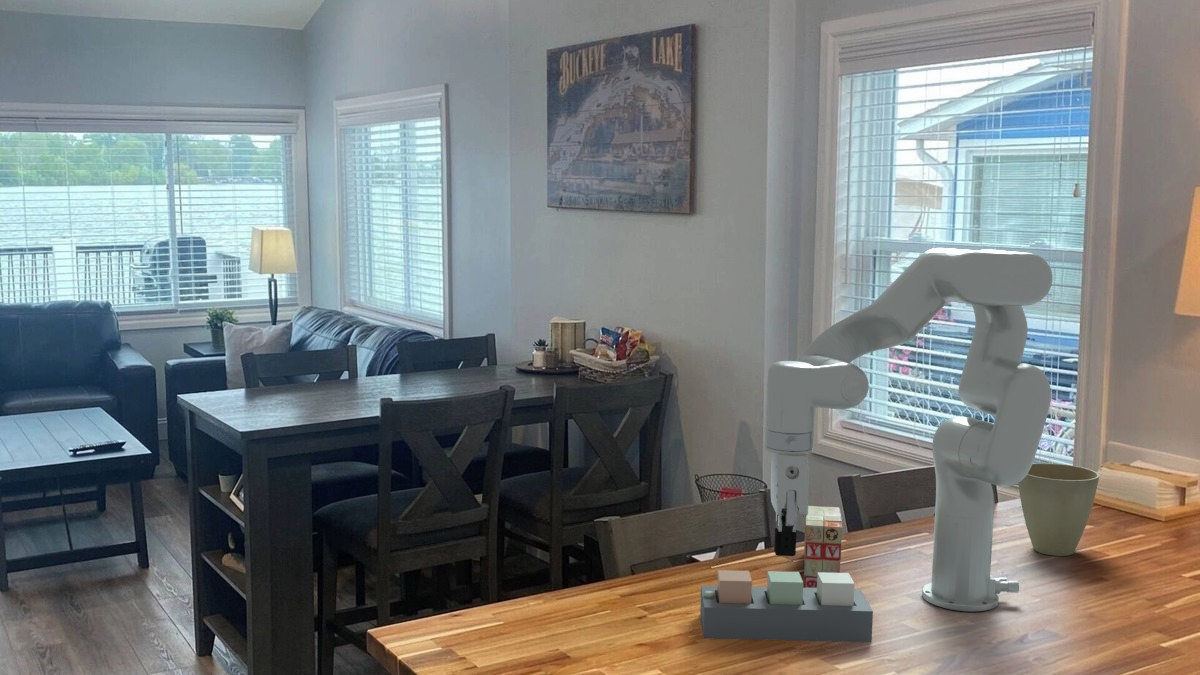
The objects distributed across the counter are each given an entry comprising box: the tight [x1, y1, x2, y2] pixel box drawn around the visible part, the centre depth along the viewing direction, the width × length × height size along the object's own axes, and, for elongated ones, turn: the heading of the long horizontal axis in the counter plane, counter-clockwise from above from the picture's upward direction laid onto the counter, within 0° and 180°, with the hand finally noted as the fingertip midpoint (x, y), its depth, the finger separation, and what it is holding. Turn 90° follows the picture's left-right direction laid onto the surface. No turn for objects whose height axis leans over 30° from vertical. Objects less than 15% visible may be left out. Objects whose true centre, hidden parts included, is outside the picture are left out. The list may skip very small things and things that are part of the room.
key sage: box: [766, 570, 804, 605], centre depth 183 cm, size 5×5×5 cm
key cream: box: [817, 572, 855, 606], centre depth 182 cm, size 5×5×5 cm
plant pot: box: [1017, 462, 1100, 557], centre depth 224 cm, size 15×15×16 cm
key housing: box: [699, 585, 874, 643], centre depth 183 cm, size 26×10×6 cm, turn 88°
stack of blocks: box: [803, 505, 843, 588], centre depth 210 cm, size 21×6×12 cm, turn 170°
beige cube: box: [716, 569, 753, 604], centre depth 183 cm, size 5×5×5 cm
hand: (784, 554), depth 182 cm, fingers closed
